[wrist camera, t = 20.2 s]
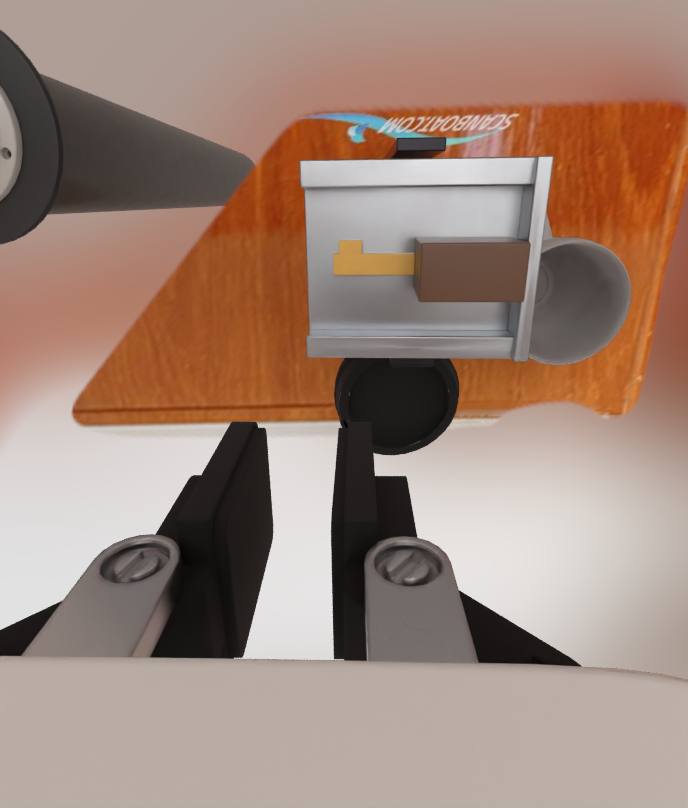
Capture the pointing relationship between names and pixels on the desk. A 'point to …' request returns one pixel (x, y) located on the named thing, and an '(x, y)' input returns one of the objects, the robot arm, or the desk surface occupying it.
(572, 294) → the mug
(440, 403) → the coffee cup
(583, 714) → the robot arm
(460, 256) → the key
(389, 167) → the silver letter tray
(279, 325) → the desk surface
